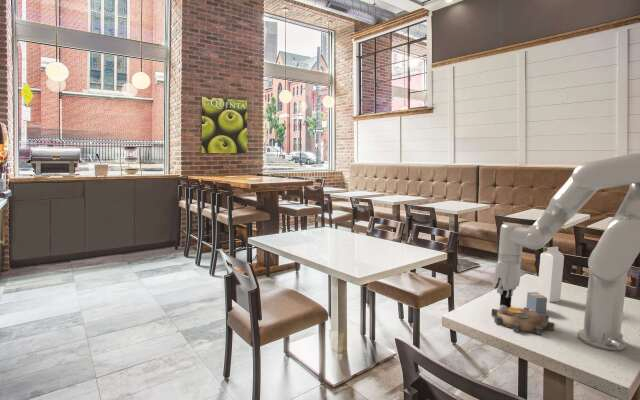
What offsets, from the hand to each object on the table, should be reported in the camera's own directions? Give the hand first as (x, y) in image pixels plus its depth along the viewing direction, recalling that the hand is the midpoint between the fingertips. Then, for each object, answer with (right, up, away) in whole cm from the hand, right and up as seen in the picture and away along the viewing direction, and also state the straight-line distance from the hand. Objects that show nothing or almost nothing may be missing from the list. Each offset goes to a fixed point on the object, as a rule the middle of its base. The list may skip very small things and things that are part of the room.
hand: (505, 306), depth 142 cm
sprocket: (+4, -4, -4) cm, 7 cm away
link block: (+15, -3, +7) cm, 17 cm away
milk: (+27, -2, +18) cm, 32 cm away
